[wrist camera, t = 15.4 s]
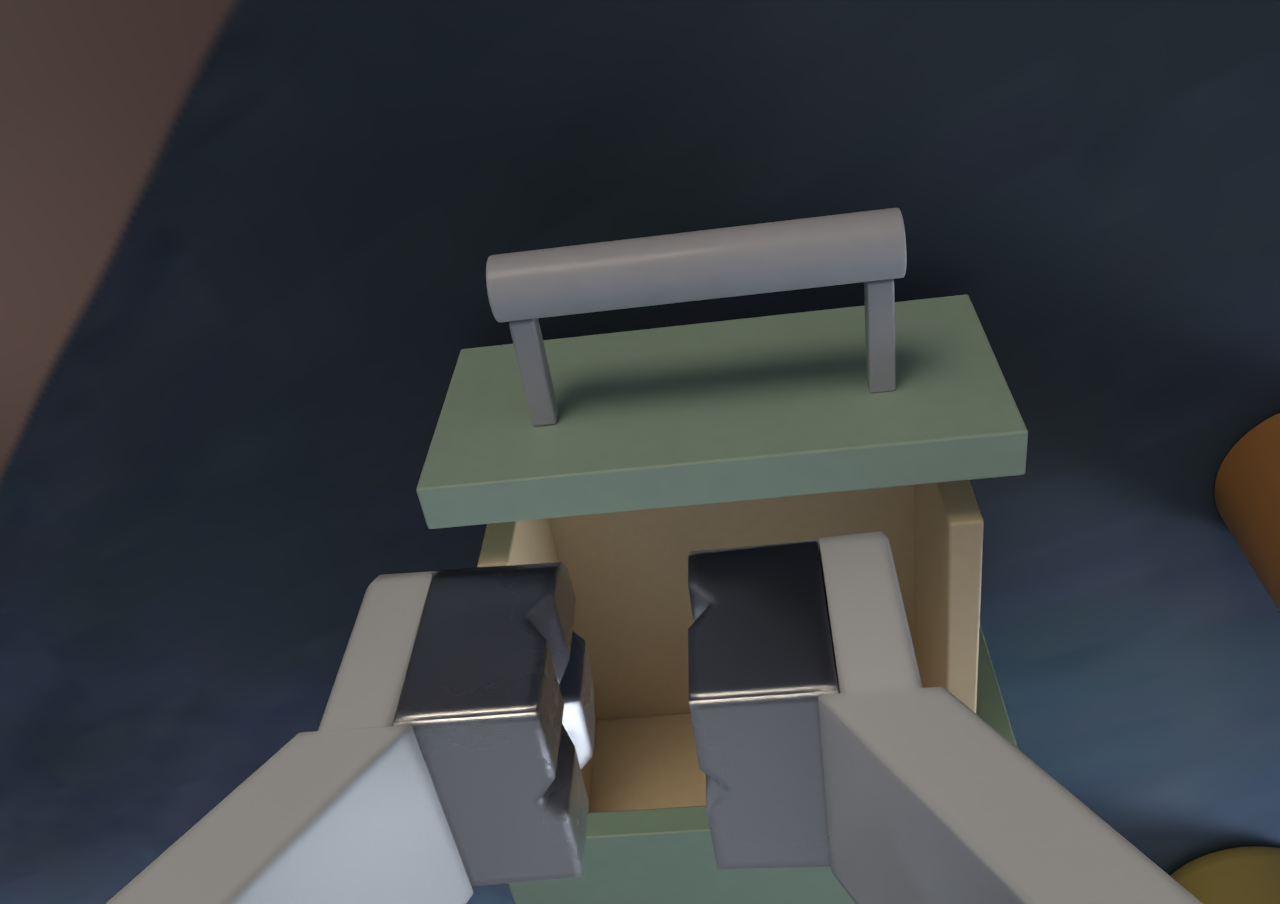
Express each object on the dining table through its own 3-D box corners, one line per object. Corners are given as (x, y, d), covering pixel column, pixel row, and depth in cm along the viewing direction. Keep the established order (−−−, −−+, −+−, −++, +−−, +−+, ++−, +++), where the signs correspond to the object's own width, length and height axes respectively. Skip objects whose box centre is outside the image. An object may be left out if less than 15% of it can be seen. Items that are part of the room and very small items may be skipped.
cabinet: (527, 634, 39) (493, 844, 32) (973, 598, 37) (1037, 811, 30) (601, 906, 48) (587, 1115, 41) (962, 887, 46) (1010, 1101, 39)
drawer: (420, 199, 29) (361, 322, 23) (972, 130, 27) (1041, 245, 22) (557, 712, 39) (537, 875, 34) (958, 683, 38) (1001, 849, 33)
